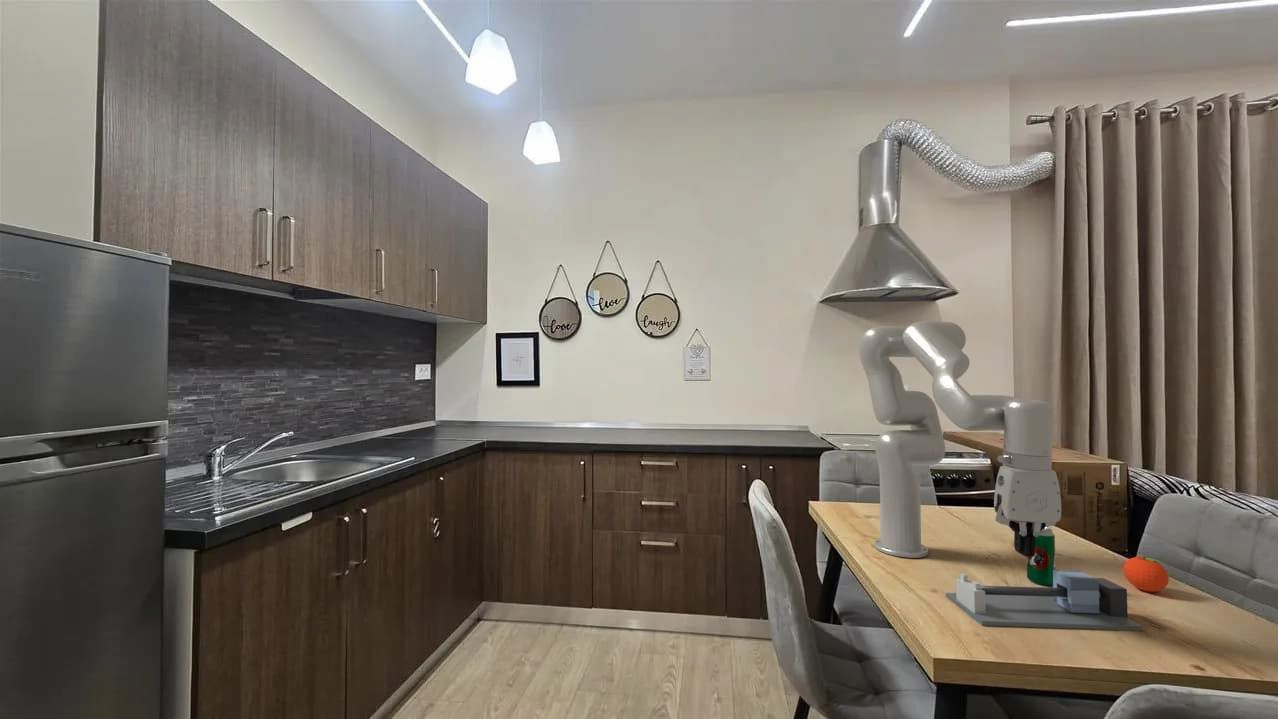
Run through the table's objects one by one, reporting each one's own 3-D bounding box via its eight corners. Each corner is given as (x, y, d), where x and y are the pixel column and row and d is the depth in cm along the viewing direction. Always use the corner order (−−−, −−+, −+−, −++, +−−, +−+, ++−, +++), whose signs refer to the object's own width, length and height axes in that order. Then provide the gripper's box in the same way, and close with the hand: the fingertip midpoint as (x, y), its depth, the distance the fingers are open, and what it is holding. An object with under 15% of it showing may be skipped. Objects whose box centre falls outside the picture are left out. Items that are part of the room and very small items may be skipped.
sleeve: (1071, 612, 94) (1070, 578, 94) (1053, 601, 98) (1052, 569, 98) (1099, 613, 93) (1098, 579, 94) (1080, 602, 98) (1079, 570, 98)
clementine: (1165, 587, 108) (1164, 555, 108) (1184, 601, 101) (1182, 566, 102) (1117, 581, 111) (1116, 549, 111) (1132, 593, 105) (1131, 559, 105)
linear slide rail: (981, 625, 91) (981, 591, 91) (945, 596, 103) (945, 566, 103) (1145, 630, 89) (1144, 596, 90) (1089, 600, 101) (1088, 570, 101)
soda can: (1061, 588, 107) (1060, 532, 108) (1035, 586, 108) (1033, 530, 109) (1047, 578, 112) (1045, 525, 113) (1022, 576, 113) (1020, 524, 114)
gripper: (1000, 465, 94) (997, 560, 95) (1082, 467, 93) (1079, 563, 94) (975, 456, 102) (973, 545, 102) (1051, 458, 101) (1049, 547, 101)
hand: (1024, 553), depth 98 cm, fingers closed
